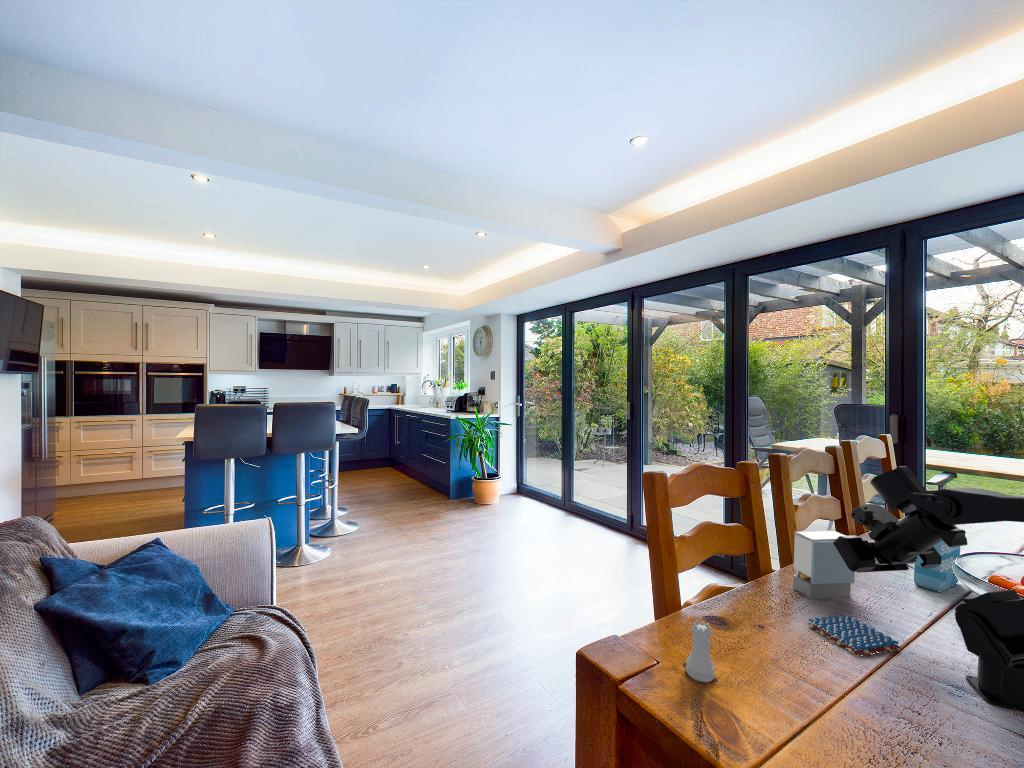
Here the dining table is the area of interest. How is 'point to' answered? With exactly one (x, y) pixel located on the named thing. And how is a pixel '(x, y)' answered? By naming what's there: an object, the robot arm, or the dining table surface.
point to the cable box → (804, 566)
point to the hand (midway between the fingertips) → (858, 570)
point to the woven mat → (854, 635)
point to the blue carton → (938, 569)
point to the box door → (828, 565)
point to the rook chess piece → (700, 654)
